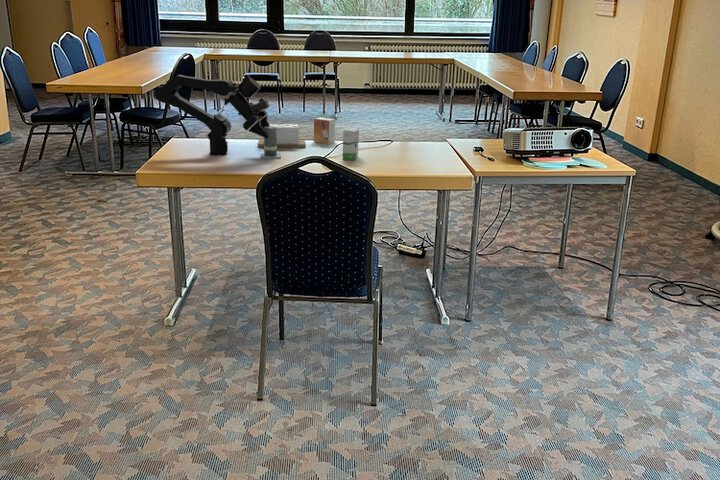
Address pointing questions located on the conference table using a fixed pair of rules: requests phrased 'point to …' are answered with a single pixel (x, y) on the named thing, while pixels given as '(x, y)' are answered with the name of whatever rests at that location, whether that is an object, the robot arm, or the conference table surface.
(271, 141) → the cartridge
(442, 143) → the conference table surface
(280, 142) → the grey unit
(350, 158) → the ink box
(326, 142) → the small box
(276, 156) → the slate mat
